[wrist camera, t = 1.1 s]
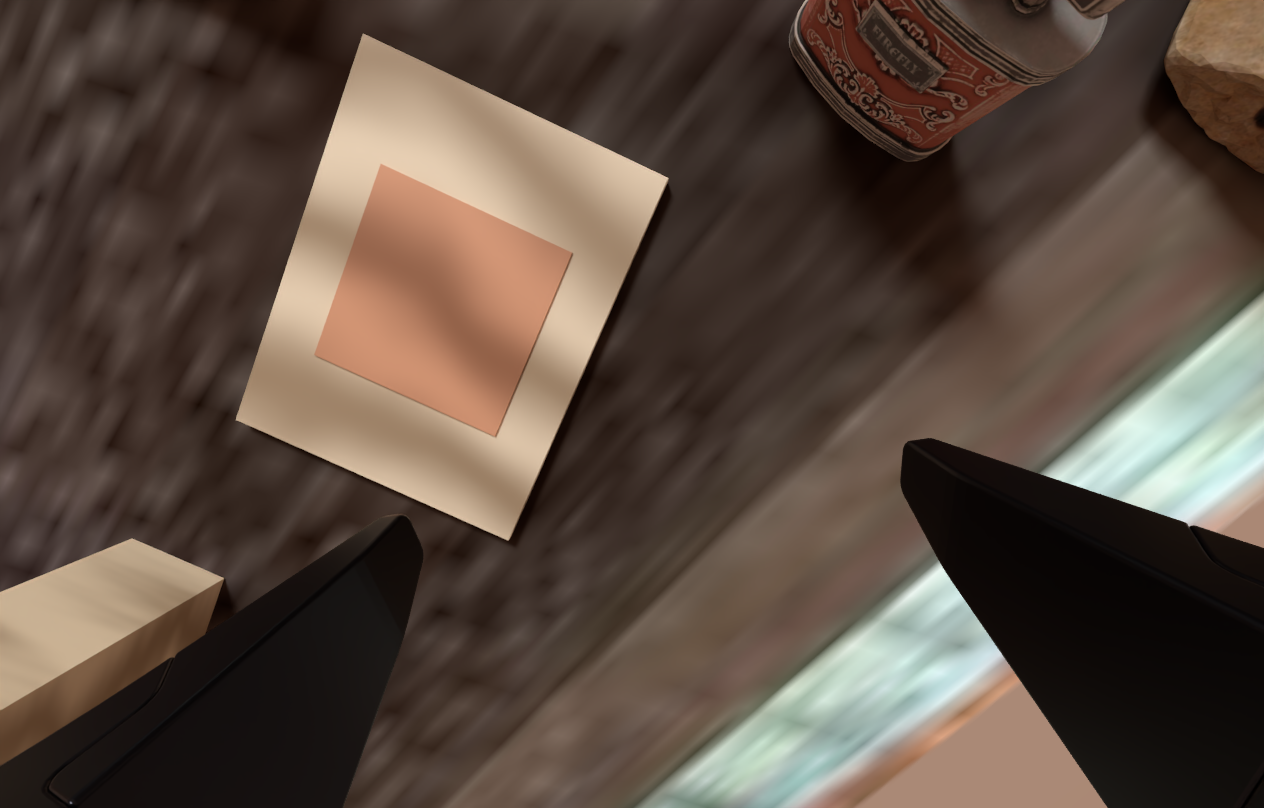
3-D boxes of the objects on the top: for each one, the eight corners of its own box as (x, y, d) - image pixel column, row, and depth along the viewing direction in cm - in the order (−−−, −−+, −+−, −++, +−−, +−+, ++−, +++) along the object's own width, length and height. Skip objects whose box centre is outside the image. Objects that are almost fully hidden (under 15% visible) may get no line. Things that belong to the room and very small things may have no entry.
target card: (511, 535, 24) (507, 541, 24) (245, 417, 24) (233, 419, 23) (667, 182, 22) (668, 177, 21) (371, 41, 21) (361, 32, 21)
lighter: (770, 48, 21) (878, -204, 11) (828, -21, 20) (995, -349, 10) (907, 181, 21) (1127, 55, 12) (966, 116, 21) (1248, -73, 11)
